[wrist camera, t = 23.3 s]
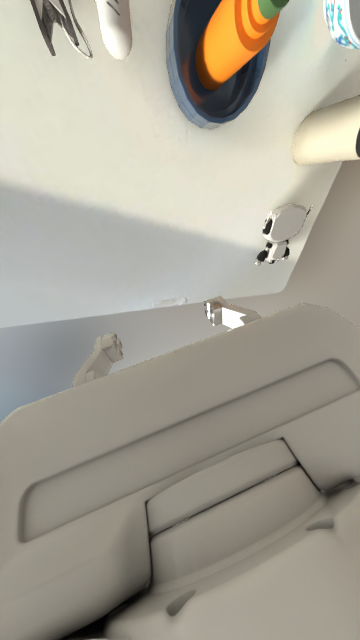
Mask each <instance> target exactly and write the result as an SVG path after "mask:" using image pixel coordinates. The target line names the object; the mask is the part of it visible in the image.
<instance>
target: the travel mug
mask: <svg viewBox="0 0 360 640" xmlns="http://www.w3.org/2000/svg"><path fill="white" fill-rule="evenodd" d="M293 157H294V160H295V161H296V163H298V164H300V165H304V164H314V163H325V162H336V161H346V160H357V159H360V95H358V96H355V97H352V98H350V99H347V100H344V101H341V102H338V103H335V104H333V105H330V106H327V107H324V108H321V109H319V110H316V111H313V112H312V113H310V114H309V115H308V116H307V117H306V118H305V119H304V121H303V122H302V123H301V125H300V127H299V129H298V131H297V133H296V136H295V139H294V144H293Z"/></svg>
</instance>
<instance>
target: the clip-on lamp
mask: <svg viewBox="0 0 360 640" xmlns="http://www.w3.org/2000/svg"><path fill="white" fill-rule="evenodd" d="M30 1H31V4H32V7H33V10H34V13H35V16H36V19H37V22H38V24H39V27H40V30H41V33H42V35H43V38H44V40H45V42H46V44H47V46H48V48H49V50H50V52H51V54H52V56H55V52H54V49H53V46H52V43H51V42H52V33H53V23H58V25H59V26H60V27H61V28H62V29H63V30H64V31H65V33H66V35H67V37H68V39H69V40H70V42H71V44H72V45H73V46H74V48H75V49H76V50H77V51H78V52H79V53H80V54H81V55H83V56H84V57H86V58H88V59H92V58H93V55H92V51H91V48H90V46H89V44H88V41H87V39H86V37H85V35H84V33H83V31H82V29H81V28H80V26H79V24H78V22H77V20H76V18H75V15H74V12H73V8H72V4H71V0H68V1H69V5H70V9H71V13H72V17H73V20H74V22H75V25H76V27H77V29H78V30H79V32H80V34H81V35H82V37H83V39H84V41H85V43H86V45H87V47H88V50H89V52H90V56H88V55H86V54H85V53H83V52H82V51H81V50H80V49H79V48H78V47H77V46H78V45H79V43H78V40H77V37H76V34H75V31H74V28H73V25H72V22H71V20H70V17H69V14H68V12H67V10H66V7H65V5H64V2H63V0H30ZM95 2H96V4H97V10H98V16H99V23H100V29H101V36H102V39H103V42H104V44H105V46H106V48H107V49H108V51H109V52H110V53H111V54H112V55H113V56H114V57H115V58H117V59H124V58H126V57H127V56H128V54H129V53H130V50H131V47H132V32H131V21H130V10H129V0H95ZM71 38H72V39H73V40H74V42H75V43H74V42H73V41H72V39H71Z"/></svg>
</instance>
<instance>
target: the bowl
mask: <svg viewBox="0 0 360 640" xmlns="http://www.w3.org/2000/svg"><path fill="white" fill-rule="evenodd" d="M221 1H222V0H172V3H171V8H170V14H169V20H168V26H167V32H166V60H167V68H168V73H169V78H170V83H171V88H172V90H173V93H174V95H175V98H176V100H177V103H178V105H179V107H180V109H181V110H182V111H183V113H184V114H185V116H186V117H187V118H188V120H189V121H191V122H192V123H194V124H195V125H197V126H198V127H200V128H205V129H214V128H217V127H219V126H222V125H224V124H226V123H228V122H230V121H232V120H234V119H235V118H236V117H237V116H238V115H239V114H240V113H242V112H243V111H244V110H245V109H246V108H247V106H248V104H249V103H250V101H251V99H252V98H253V96H254V95H255V93H256V91H257V89H258V86H259V83H260V81H261V78H262V75H263V72H264V70H265V66H266V61H267V56H268V51H269V46H270V40H269V41H268V43H267V44H266V45H265V46H264V47H263V48H262V49H261V50H260V51H259V52H258V53H257V54H256V55H255V56H253V57H252V58H251V59H250V60H249V61H248V62H247V63H246V64H245V65H243V66H242V67H241V68H240V69H239V70H238V71H237V72H236V73H235V74H233V75H232V76H231V77H230V78H229V79H228V80H227V81H226V82H225V83H223V84H222V85H221V86H220V87H219V88H218V89H216V90H212V91H211V90H208V89H206V88H205V87H204V86H203V85H202V84H201V82H200V80H199V78H198V75H197V71H196V62H195V57H196V48H197V44H198V41H199V38H200V36H201V34H202V33H203V31H204V29H205V28H206V26H207V24H208V22H209V21H210V19H211V17H212V16H213V14H214V12H215V11H216V9H217V7H218V6H219V4H220V2H221ZM270 39H271V38H270Z"/></svg>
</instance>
